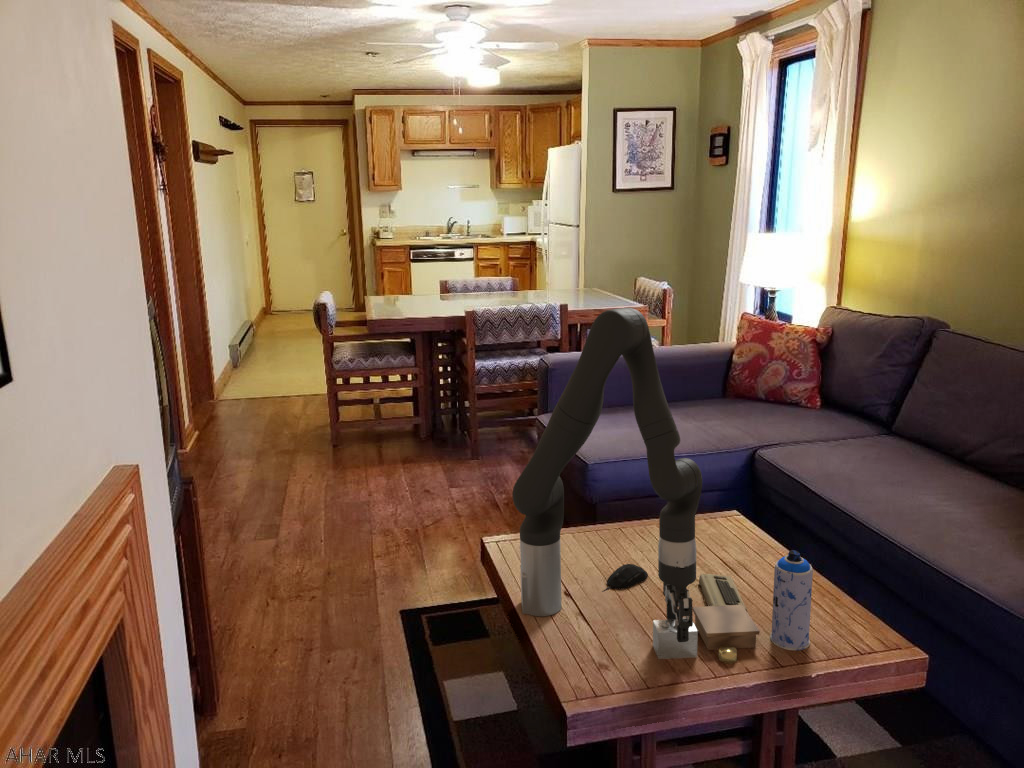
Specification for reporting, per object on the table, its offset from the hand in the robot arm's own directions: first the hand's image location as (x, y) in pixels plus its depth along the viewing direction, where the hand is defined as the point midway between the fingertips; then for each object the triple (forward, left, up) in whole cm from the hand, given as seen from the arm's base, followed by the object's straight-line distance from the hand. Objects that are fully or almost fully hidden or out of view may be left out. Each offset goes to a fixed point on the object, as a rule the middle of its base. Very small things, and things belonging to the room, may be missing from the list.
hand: (677, 630), depth 160 cm
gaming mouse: (-6, +32, -5) cm, 32 cm away
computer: (+16, +21, -6) cm, 27 cm away
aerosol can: (+25, +2, -5) cm, 25 cm away
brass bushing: (+10, -3, -5) cm, 11 cm away
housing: (0, 0, -5) cm, 5 cm away
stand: (+12, +5, -5) cm, 14 cm away
